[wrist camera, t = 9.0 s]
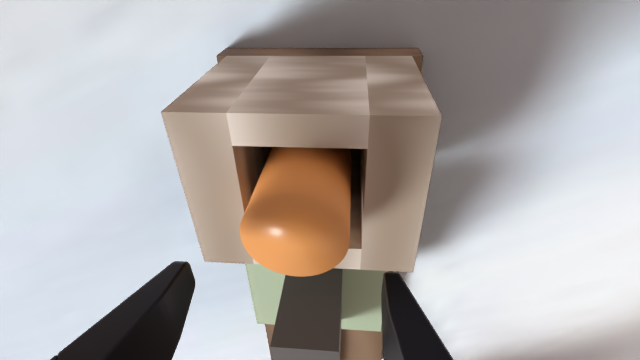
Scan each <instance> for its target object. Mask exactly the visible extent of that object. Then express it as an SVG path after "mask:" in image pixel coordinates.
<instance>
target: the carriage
mask: <svg viewBox="0 0 640 360" xmlns="http://www.w3.org/2000/svg"><path fill="white" fill-rule="evenodd" d="M245 265H246V270H247V275H248V280H249V285H250V290H251V295H252V300H253V305H254V310H255V315H256V320H257V323H258V324H273V325H275V326H274V330H273V335H272V340H271V344H270V350H271V356H272V360H340V344H341V329H349V330H364V331H379V332H381V325H382V310H381V290H382V282H383V274H384V273H385V272H388V271H378V270H359V269H339V268H333V269H331V270H329V271H327V272H324V273H322V274H318V275H313V276H305V277H297V276H289V275H284V274H280V273H277V272H274V271H272V270H270V269H268V268H266V267H264V266H262V265H261V264H245Z"/></svg>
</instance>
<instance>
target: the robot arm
mask: <svg viewBox="0 0 640 360" xmlns="http://www.w3.org/2000/svg"><path fill="white" fill-rule="evenodd" d="M194 289H195V279H194V276H193V273H192V270H191V266H190V264H189V263H188V262H182V261H175V262H173V263H171V264H170V265H169V266H167V267H166V268H165V269H164V270H162V271H161V272H160V273H159V274H157V275H156V276H155V277H154V278H152V279H151V280H150V281H149V282H147V283H146V284H145V285H144V286H142V287H141V288H140V289H138V290H137V291H136V292H135V293H133V294H132V295H131V296H130V297H128V298H127V299H126V300H125V301H123V302H122V303H121V304H120V305H118V306H117V307H116V308H115V309H113V310H112V311H111V312H110V313H108V314H107V315H106V316H105V317H103V318H102V319H101V320H99V321H98V322H97V323H96V324H94V325H93V326H92V327H91V328H89V329H88V330H87V331H86V332H84V333H83V334H82V335H81V336H79V337H78V338H77V339H76V340H74V341H73V342H72V343H71V344H69V345H68V346H67V347H66V348H64V349H63V350H62V351H61V352H59V353H58V355H56V356H54V357H53V358H52V359H50V360H172V357H173V355H174V352H175V350H176V348H177V345H178V342H179V340H180V337H181V334H182V331H183V327H184V324H185V320H186V317H187V313H188V310H189V306H190V303H191V299H192V296H193V292H194ZM381 310H382V344H383V356H384V360H453V358H452V357H451V355H450V353H449V352H448V350H447V349H446V347H445V345H444V344H443V342H442V341H441V339H440V338H439V336H438V334H437V333H436V331H435V330H434V328H433V326H432V325H431V323H430V322H429V320H428V318H427V317H426V315H425V314H424V312H423V311H422V309H421V307H420V306H419V304H418V303H417V301H416V299H415V298H414V296H413V295H412V293H411V292H410V290H409V288H408V287H407V285H406V284H405V282H404V280H403V279H402V277H401V276H400V274H399V273H395V272H385V273H384V274H383V282H382V290H381Z"/></svg>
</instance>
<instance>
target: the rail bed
mask: <svg viewBox="0 0 640 360" xmlns="http://www.w3.org/2000/svg"><path fill="white" fill-rule="evenodd" d="M422 60H423V55H422V53H421V52H420V50H419V48H226V49H225V50H223V51H222V52H221V53H220V54H218V55H217V61H218V64H216V65H215V66H214V67H213V68H212V69H211V70H209V71H208V72H207V73H206V74H205V75H204V76H202V77H201V78H200V79H199V80H198V81H196V82H195V83H194V84H193V85H192V86H191V87H189V88H188V89H187V90H186V91H185V92H184V93H182V94H181V95H180V96H179V97H178V98H177V99H175V100H174V101H173V102H172V103H171V104H170V105H168V106H167V107H166V108H165V109H164V110H163V111H161V114H162V118H163V121H164V124H165V128H166V131H167V135H168V138H169V142H170V145H171V148H172V152H173V155H174V159H175V162H176V165H177V169H178V172H179V176H180V179H181V183H182V186H183V189H184V193H185V196H186V200H187V203H188V207H189V210H190V213H191V217H192V220H193V224H194V227H195V231H196V234H197V237H198V241H199V244H200V248H201V251H202V254H203V258H204V261H205V262H223V263H242V264H259V263H258V262H257V261H255V260H254V259H253V258H252V257H251V256H250V255H249V253H248V252H247V251H246V249H245V248H244V246H243V243H242V241H241V237H240V224H241V220H242V218H243V216H244V213H245V211H246V208H247V206H248V204H249V201H250V199H251V196H252V194H253V192H254V189H255V187H256V184H257V182H258V180H259V177H260V175H261V172H262V170H263V168H264V165H265V163H266V160H267V158H268V156H269V153H270V151H271V148H272V147H304V148H348V149H349V150H350V153H351V160H352V166H351V208H350V243H349V249H348V252H347V254H346V256H345V257H344V259H343V260H342V261H341V262H340V263H339V264H338V265H337V266H335V267H334V268H339V269H359V270H378V271H388V272H393V271H397V272H413V271H414V265H415V260H416V254H417V249H418V244H419V238H420V233H421V227H422V222H423V217H424V211H425V206H426V200H427V195H428V189H429V184H430V179H431V173H432V168H433V162H434V157H435V152H436V146H437V141H438V135H439V130H440V125H441V119H442V115H441V113H440V111H439V109H438V107H437V105H436V103H435V101H434V99H433V97H432V95H431V93H430V91H429V89H428V87H427V85H426V83H425V81H424V79H423V77H422V75H421V67H422ZM274 326H275V325H273V324H265V327H266V332H267V338H268V343H269V349H270V344H271V340H272V335H273V330H274ZM382 349H383V344H382V325H381V332H379V331H364V330H349V329H341V344H340V360H381V356H382ZM270 354H271V350H270ZM271 360H272V356H271Z"/></svg>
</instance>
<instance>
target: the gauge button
mask: <svg viewBox="0 0 640 360" xmlns="http://www.w3.org/2000/svg"><path fill="white" fill-rule="evenodd" d="M351 166H352V160H351V153H350V150H349V149H348V148H304V147H272V148H271V151H270V153H269V156H268V158H267V160H266V163H265V165H264V168H263V170H262V172H261V175H260V177H259V180H258V182H257V184H256V187H255V189H254V192H253V194H252V196H251V199H250V201H249V204H248V206H247V208H246V211H245V213H244V216H243V218H242V220H241V224H240V237H241V241H242V243H243V246H244V248H245V249H246V251H247V252H248V253H249V255H250V256H251V257H252V258H253V259H254V260H255V261H257V262H258V263H259V264H261V265H262V266H264V267H266V268H268V269H270V270H272V271H274V272H277V273H280V274H284V275H289V276H297V277H305V276H313V275H318V274H322V273H324V272H327V271H329V270H331V269H333V268H334V267H335V266H337V265H338V264H339V263H340V262H341V261H342V260H343V259H344V257H345V256H346V254H347V252H348V249H349V243H350V208H351Z"/></svg>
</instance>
